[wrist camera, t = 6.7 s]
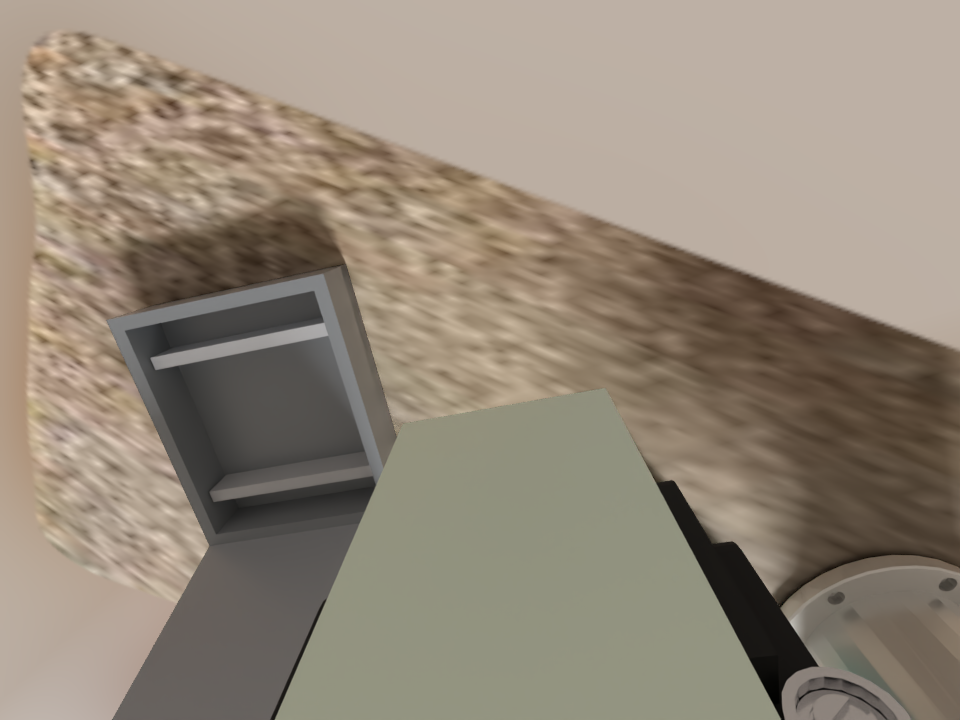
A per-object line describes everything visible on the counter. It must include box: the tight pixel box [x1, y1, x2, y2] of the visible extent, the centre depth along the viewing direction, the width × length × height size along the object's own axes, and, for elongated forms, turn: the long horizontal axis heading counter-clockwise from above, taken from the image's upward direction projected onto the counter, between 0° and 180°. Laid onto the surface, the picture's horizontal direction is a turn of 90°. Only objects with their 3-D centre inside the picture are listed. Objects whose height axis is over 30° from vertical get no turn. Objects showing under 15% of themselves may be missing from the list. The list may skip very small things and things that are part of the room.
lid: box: [112, 523, 360, 720], centre depth 19 cm, size 10×12×1 cm
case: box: [106, 264, 397, 546], centre depth 24 cm, size 10×12×3 cm
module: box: [275, 388, 781, 720], centre depth 8 cm, size 5×5×10 cm
